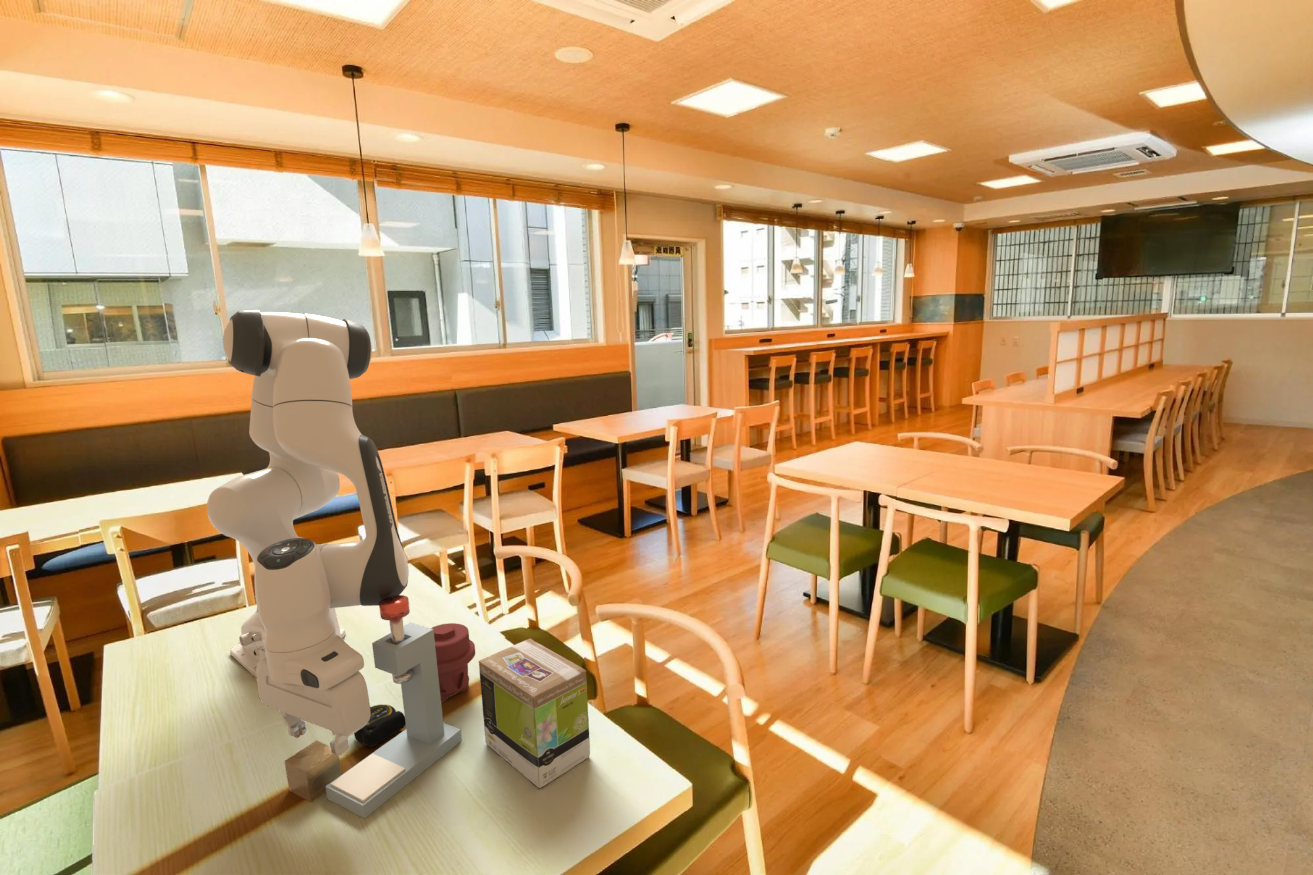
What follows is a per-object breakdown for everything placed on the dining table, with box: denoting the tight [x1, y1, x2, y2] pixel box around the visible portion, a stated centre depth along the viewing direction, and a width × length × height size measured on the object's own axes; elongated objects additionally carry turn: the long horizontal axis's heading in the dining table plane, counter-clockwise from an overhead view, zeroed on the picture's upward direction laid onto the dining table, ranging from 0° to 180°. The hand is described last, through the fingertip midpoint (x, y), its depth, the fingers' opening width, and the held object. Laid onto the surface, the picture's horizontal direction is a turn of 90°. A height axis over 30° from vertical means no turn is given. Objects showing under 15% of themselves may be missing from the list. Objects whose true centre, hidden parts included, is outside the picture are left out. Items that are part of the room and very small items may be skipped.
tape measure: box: [353, 704, 406, 748], centre depth 106 cm, size 7×7×4 cm
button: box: [378, 594, 413, 685], centre depth 96 cm, size 4×4×12 cm
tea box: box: [478, 638, 591, 789], centre depth 100 cm, size 15×10×15 cm
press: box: [325, 622, 463, 819], centre depth 96 cm, size 8×18×20 cm, turn 151°
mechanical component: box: [430, 622, 476, 703], centre depth 116 cm, size 12×10×10 cm
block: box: [283, 740, 343, 803], centre depth 95 cm, size 5×5×5 cm
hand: (318, 743), depth 94 cm, fingers open, 8 cm apart
